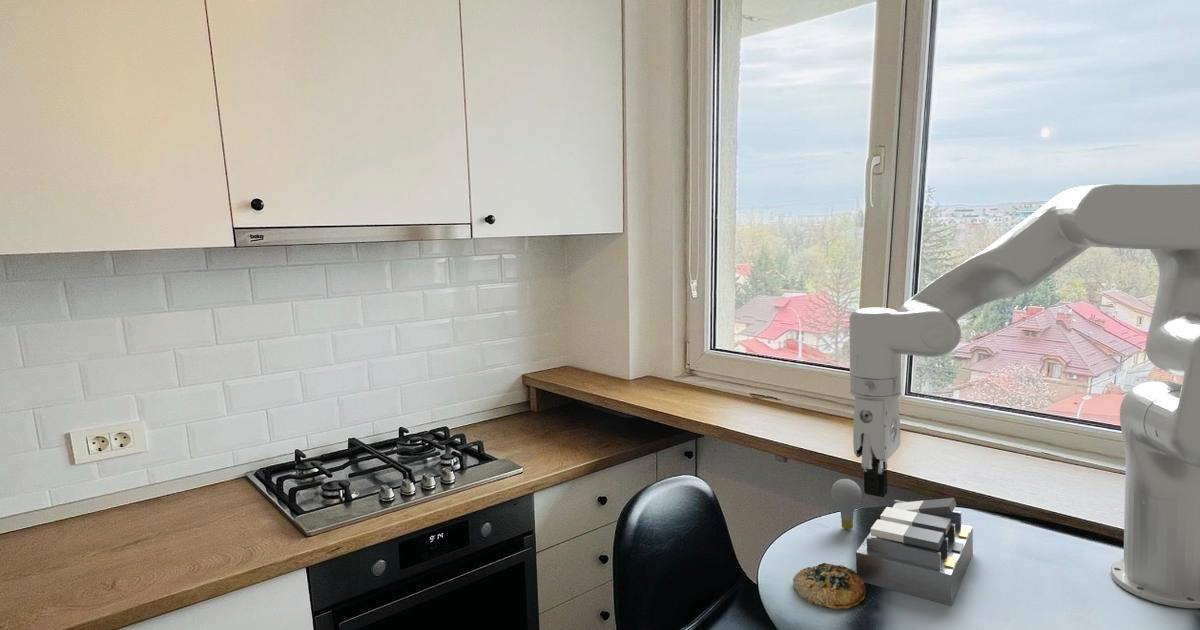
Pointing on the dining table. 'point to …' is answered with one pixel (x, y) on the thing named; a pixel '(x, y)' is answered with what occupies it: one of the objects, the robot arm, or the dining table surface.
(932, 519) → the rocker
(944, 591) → the switch box
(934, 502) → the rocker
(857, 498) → the light bulb
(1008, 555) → the dining table surface
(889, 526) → the rocker
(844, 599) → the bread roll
